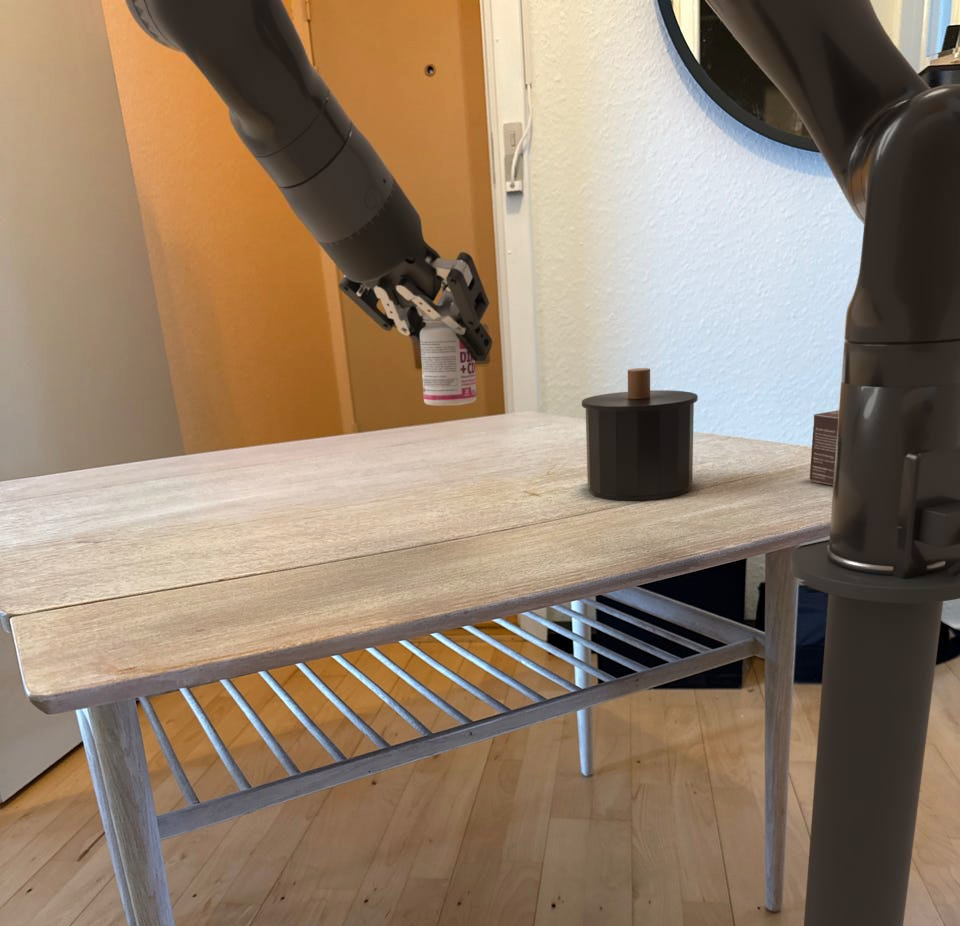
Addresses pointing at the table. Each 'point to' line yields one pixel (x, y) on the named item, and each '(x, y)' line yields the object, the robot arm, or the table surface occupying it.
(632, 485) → the pot
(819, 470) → the box
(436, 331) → the pill bottle
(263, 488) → the table surface
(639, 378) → the pot lid
